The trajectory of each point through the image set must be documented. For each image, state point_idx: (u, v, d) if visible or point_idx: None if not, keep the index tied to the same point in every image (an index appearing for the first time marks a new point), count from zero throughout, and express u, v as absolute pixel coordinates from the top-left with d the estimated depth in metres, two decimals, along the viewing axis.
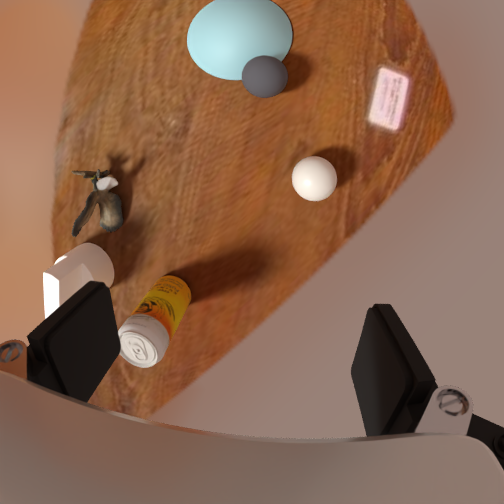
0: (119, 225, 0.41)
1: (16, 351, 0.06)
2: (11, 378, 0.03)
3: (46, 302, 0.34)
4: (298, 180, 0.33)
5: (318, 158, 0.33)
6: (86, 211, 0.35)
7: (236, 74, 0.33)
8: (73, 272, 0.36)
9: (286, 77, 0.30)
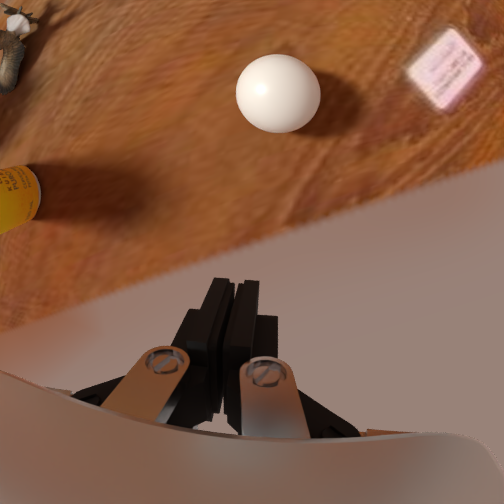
0: (11, 87, 0.19)
1: (173, 364, 0.06)
2: (11, 378, 0.03)
3: None
4: (246, 74, 0.15)
5: (300, 61, 0.16)
6: None
7: None
8: None
9: None
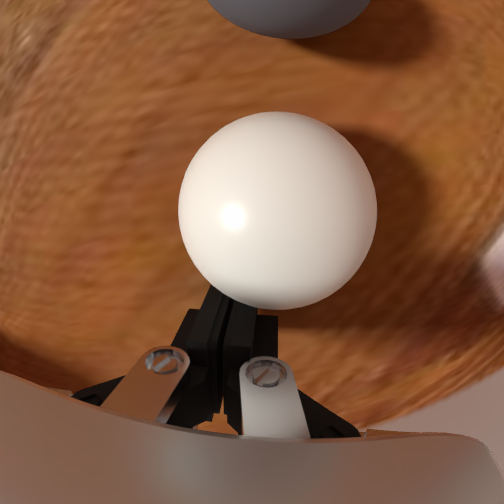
0: None
1: (174, 364, 0.06)
2: (11, 378, 0.03)
3: None
4: None
5: None
6: None
7: None
8: None
9: None
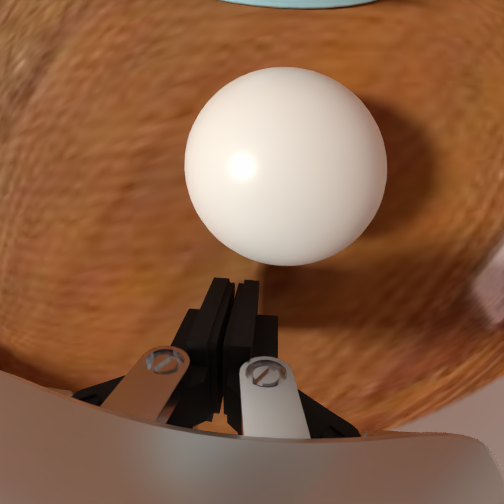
0: None
1: (174, 364, 0.06)
2: (11, 378, 0.03)
3: None
4: None
5: None
6: None
7: None
8: None
9: None
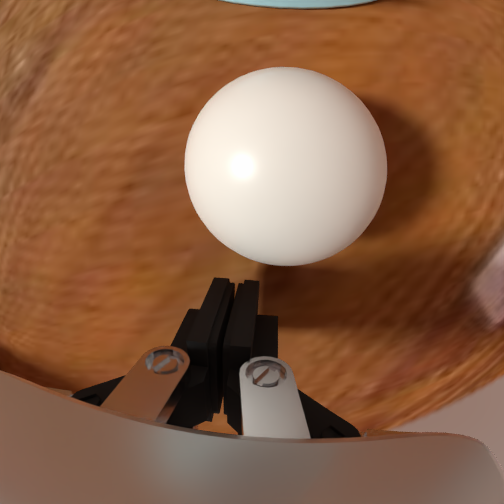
0: None
1: (174, 364, 0.06)
2: (11, 378, 0.03)
3: None
4: None
5: None
6: None
7: None
8: None
9: None
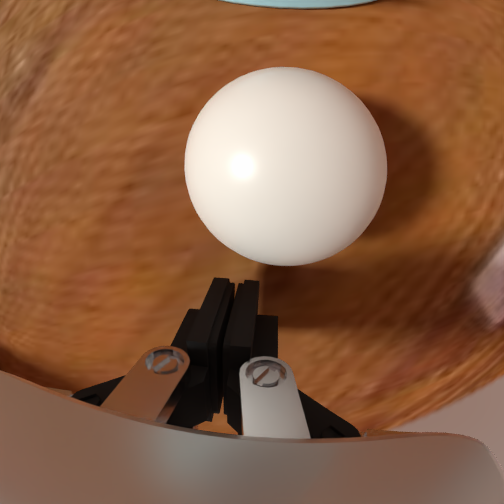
0: None
1: (174, 364, 0.06)
2: (11, 378, 0.03)
3: None
4: None
5: None
6: None
7: None
8: None
9: None
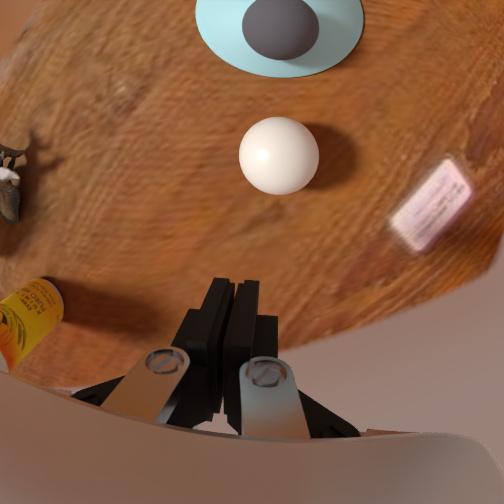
0: (14, 222, 0.26)
1: (173, 364, 0.06)
2: (11, 378, 0.03)
3: None
4: None
5: None
6: None
7: (240, 59, 0.20)
8: None
9: (313, 11, 0.15)
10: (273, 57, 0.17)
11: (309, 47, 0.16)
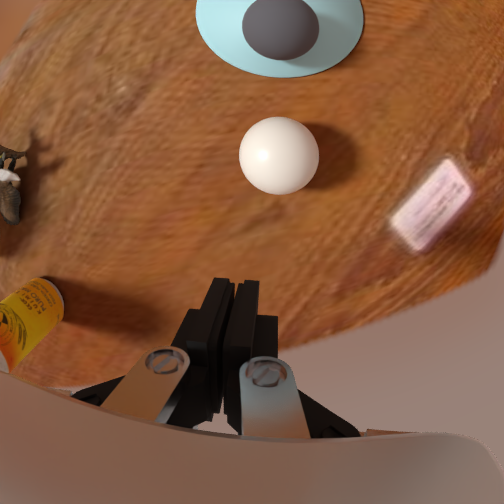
0: (15, 223, 0.26)
1: (173, 364, 0.06)
2: (11, 378, 0.03)
3: None
4: None
5: None
6: None
7: (240, 59, 0.20)
8: None
9: (313, 11, 0.15)
10: (273, 57, 0.17)
11: (309, 47, 0.16)
